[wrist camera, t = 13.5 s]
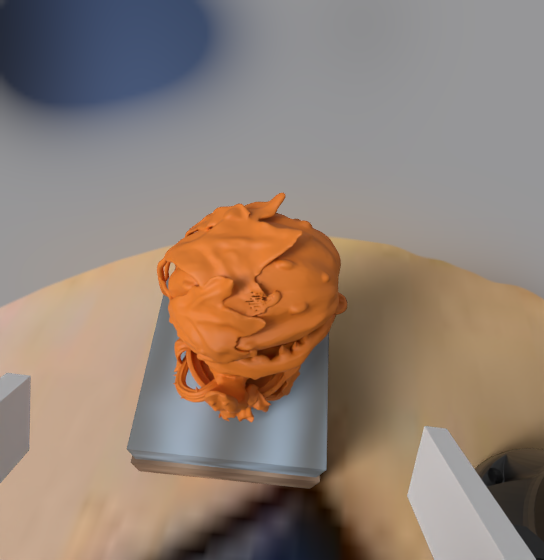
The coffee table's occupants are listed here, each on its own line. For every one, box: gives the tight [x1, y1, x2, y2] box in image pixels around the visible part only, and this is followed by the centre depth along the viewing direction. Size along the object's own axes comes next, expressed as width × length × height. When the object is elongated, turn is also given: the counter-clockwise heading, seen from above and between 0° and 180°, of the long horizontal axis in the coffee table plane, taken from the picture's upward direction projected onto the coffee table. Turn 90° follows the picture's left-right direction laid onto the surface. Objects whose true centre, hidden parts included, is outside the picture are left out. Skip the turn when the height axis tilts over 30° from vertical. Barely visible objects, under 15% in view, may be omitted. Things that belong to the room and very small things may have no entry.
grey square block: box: [127, 278, 329, 488], centre depth 40 cm, size 15×15×8 cm
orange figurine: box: [157, 193, 347, 422], centre depth 28 cm, size 11×11×18 cm
